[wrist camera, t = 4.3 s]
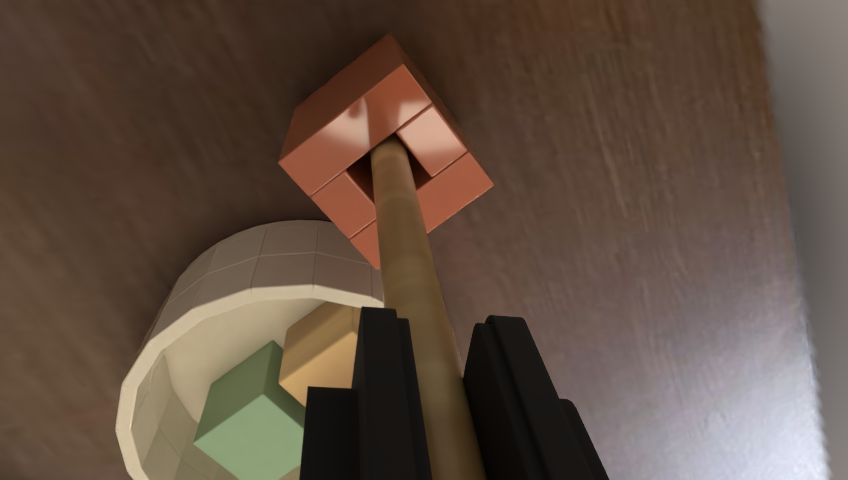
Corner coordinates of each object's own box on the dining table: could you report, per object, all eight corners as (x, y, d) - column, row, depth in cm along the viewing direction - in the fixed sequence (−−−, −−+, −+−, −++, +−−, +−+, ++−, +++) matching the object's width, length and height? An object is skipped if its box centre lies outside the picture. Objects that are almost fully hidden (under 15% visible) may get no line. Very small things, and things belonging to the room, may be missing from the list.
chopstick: (362, 145, 22) (399, 796, 6) (390, 124, 21) (514, 737, 5) (384, 172, 22) (477, 839, 6) (412, 151, 22) (585, 785, 6)
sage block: (210, 384, 31) (192, 443, 27) (273, 338, 30) (262, 394, 27) (267, 432, 32) (257, 493, 29) (328, 390, 32) (325, 448, 28)
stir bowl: (92, 338, 30) (36, 426, 25) (325, 157, 27) (319, 212, 22) (296, 499, 36) (286, 599, 30) (504, 362, 33) (534, 445, 28)
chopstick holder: (294, 107, 26) (277, 162, 20) (390, 31, 25) (403, 63, 19) (370, 195, 28) (376, 270, 22) (461, 127, 27) (494, 185, 21)
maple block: (285, 329, 30) (277, 383, 26) (352, 281, 29) (352, 330, 26) (340, 381, 32) (339, 438, 28) (405, 337, 31) (412, 390, 27)
